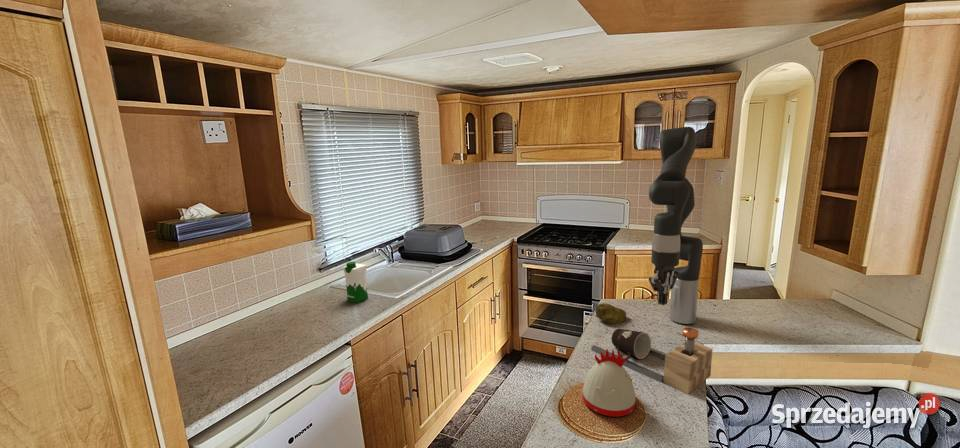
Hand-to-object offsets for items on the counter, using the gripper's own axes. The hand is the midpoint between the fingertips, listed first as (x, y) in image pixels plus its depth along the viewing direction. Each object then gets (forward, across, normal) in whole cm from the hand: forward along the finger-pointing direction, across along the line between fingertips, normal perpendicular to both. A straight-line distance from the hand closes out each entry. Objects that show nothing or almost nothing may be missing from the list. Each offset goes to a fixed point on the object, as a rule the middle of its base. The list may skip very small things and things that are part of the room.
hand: (662, 303), depth 119 cm
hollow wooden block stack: (+21, -1, +8) cm, 23 cm away
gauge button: (+12, -1, +8) cm, 15 cm away
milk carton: (+22, +56, -118) cm, 132 cm away
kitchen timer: (+22, +25, 0) cm, 33 cm away
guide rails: (+21, 0, -8) cm, 23 cm away
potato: (+21, -17, -30) cm, 41 cm away
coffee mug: (+18, -1, -17) cm, 25 cm away
